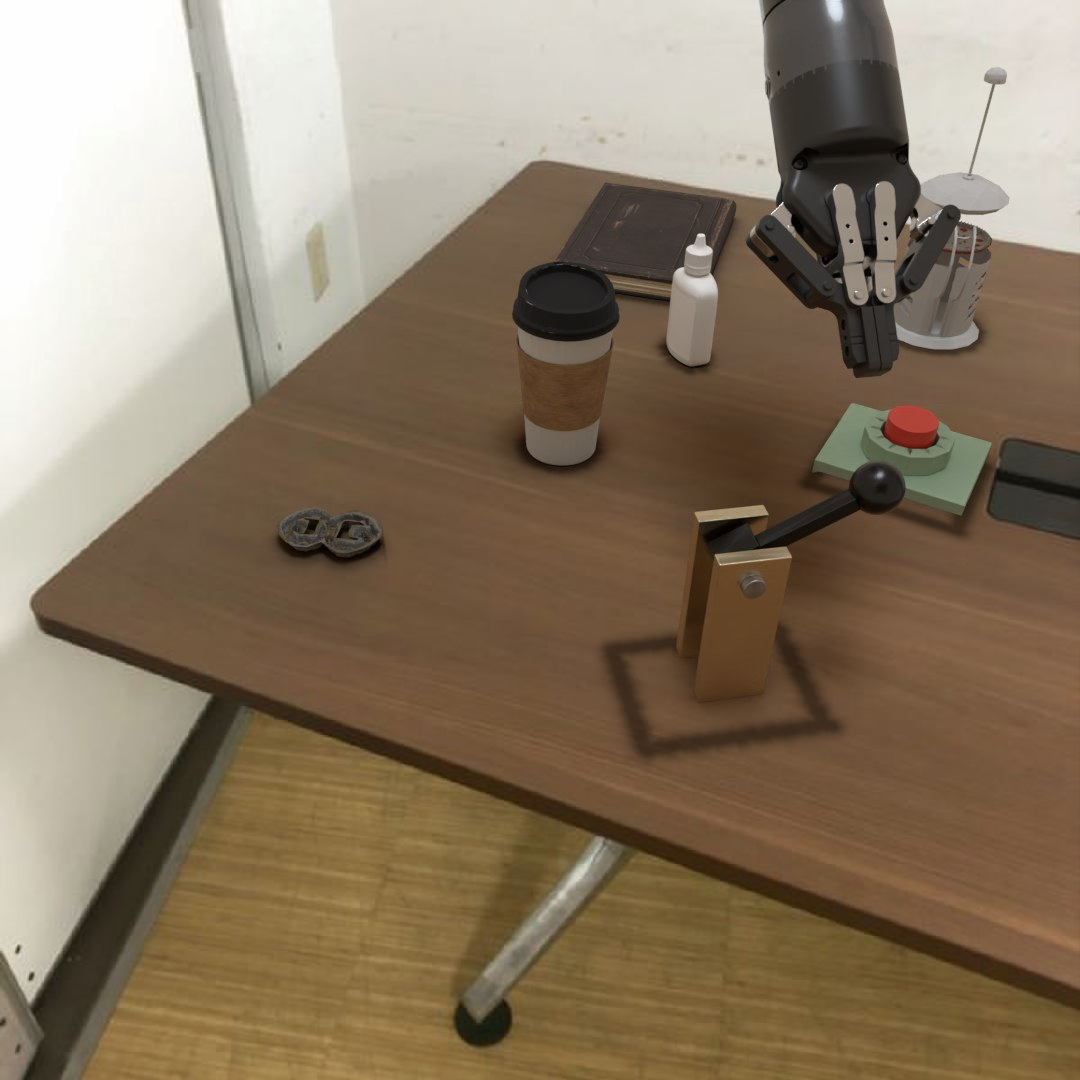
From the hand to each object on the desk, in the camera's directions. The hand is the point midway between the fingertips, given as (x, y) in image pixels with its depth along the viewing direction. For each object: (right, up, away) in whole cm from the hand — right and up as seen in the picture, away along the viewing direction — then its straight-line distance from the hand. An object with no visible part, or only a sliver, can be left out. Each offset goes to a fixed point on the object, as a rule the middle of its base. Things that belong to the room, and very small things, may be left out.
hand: (874, 373), depth 65 cm
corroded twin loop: (-35, -10, +20) cm, 42 cm away
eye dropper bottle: (-5, +8, +43) cm, 44 cm away
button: (+11, -1, +26) cm, 28 cm away
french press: (+20, +11, +48) cm, 53 cm away
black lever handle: (-3, -10, +3) cm, 10 cm away
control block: (+11, -4, +28) cm, 31 cm away
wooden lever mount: (-8, -19, +9) cm, 23 cm away
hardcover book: (-7, +23, +61) cm, 65 cm away
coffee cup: (-18, -2, +31) cm, 35 cm away
